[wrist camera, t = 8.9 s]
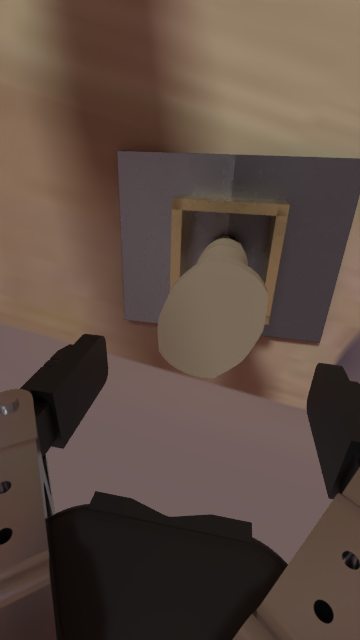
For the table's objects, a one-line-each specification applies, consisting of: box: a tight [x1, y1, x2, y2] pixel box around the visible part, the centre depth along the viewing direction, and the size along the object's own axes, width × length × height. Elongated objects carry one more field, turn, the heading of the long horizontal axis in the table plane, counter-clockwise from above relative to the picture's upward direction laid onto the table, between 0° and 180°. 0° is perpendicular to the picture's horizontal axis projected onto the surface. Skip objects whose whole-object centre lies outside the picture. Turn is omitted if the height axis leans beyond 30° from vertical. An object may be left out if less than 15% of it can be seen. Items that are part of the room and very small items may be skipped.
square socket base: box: [117, 151, 360, 342], centre depth 27 cm, size 16×20×5 cm
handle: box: [157, 236, 268, 378], centre depth 22 cm, size 5×6×15 cm
